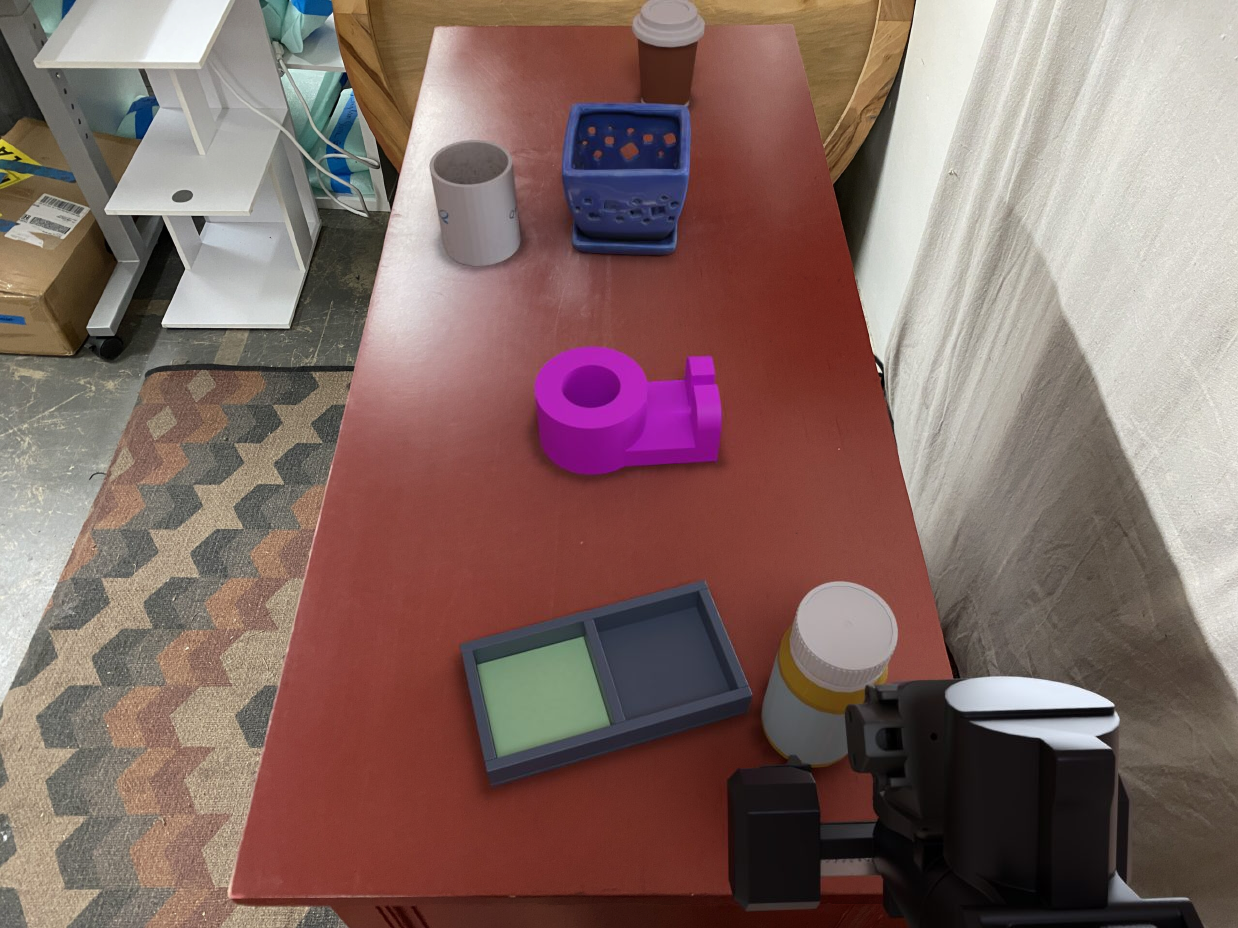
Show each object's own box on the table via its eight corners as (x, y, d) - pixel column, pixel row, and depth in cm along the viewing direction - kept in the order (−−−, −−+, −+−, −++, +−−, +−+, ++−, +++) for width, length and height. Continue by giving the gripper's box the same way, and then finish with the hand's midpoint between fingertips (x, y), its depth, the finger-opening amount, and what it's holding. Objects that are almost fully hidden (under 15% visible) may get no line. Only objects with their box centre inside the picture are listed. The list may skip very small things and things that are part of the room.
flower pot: (685, 268, 100) (692, 173, 91) (564, 266, 100) (558, 170, 91) (684, 196, 108) (690, 102, 99) (572, 194, 109) (568, 99, 99)
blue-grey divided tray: (748, 712, 68) (753, 695, 66) (491, 787, 64) (486, 772, 62) (701, 598, 74) (704, 579, 72) (464, 661, 70) (459, 643, 68)
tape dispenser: (540, 477, 82) (535, 431, 77) (538, 396, 88) (533, 349, 83) (718, 467, 83) (724, 421, 78) (703, 388, 89) (708, 340, 84)
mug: (514, 267, 100) (505, 189, 92) (436, 264, 100) (421, 185, 93) (529, 200, 108) (522, 122, 100) (457, 197, 108) (445, 119, 100)
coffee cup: (713, 99, 122) (721, 8, 113) (670, 127, 118) (674, 35, 108) (660, 76, 126) (664, -14, 116) (616, 102, 121) (616, 11, 112)
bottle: (751, 684, 69) (778, 580, 58) (841, 675, 70) (886, 570, 58) (771, 775, 65) (804, 682, 53) (867, 765, 65) (921, 670, 54)
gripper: (1229, 720, 36) (1038, 616, 51) (755, 735, 36) (707, 626, 51) (1218, 987, 37) (1034, 806, 53) (757, 1004, 37) (709, 817, 52)
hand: (873, 760), depth 52 cm, fingers open, 9 cm apart
